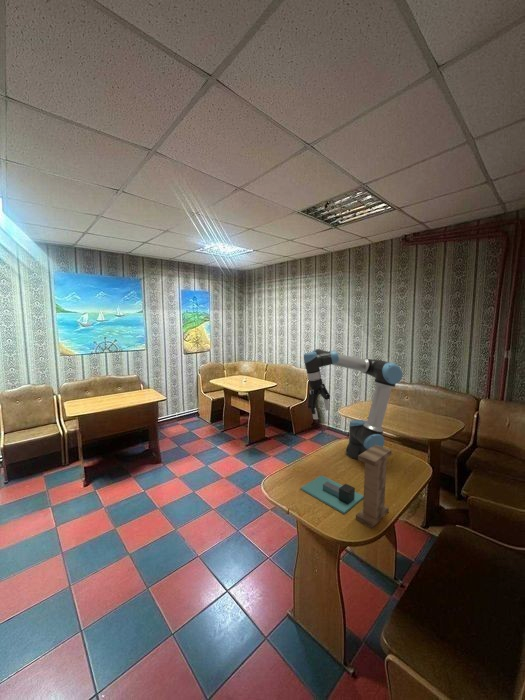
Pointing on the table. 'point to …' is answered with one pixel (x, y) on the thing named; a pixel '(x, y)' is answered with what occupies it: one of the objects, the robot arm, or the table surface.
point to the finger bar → (340, 492)
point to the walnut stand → (374, 485)
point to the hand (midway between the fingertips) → (322, 414)
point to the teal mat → (317, 491)
